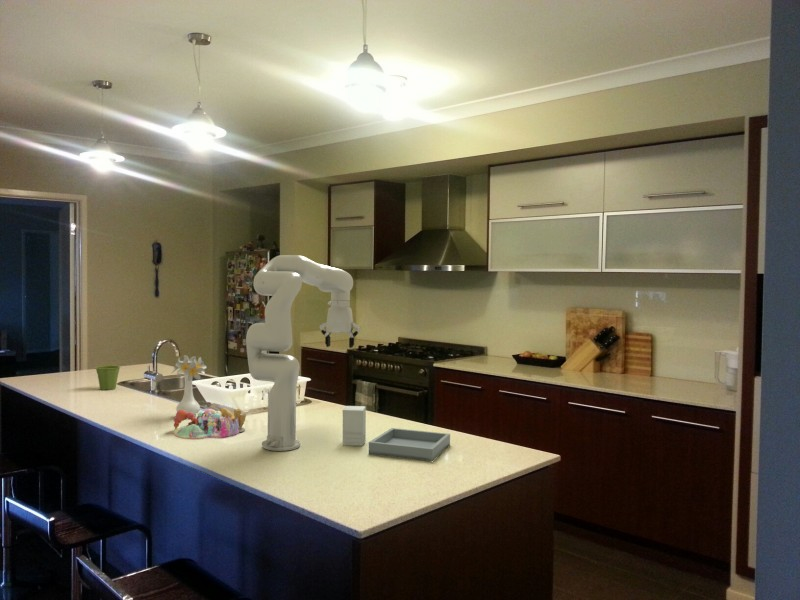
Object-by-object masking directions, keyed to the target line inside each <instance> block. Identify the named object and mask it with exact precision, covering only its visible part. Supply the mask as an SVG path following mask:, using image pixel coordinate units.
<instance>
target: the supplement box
mask: <svg viewBox="0 0 800 600" xmlns="http://www.w3.org/2000/svg"><path fill="white" fill-rule="evenodd" d="M366 408H367V407H366V406H363V405H362V406H361V405H360V406H359V405H346V406H344V408H343V409H342V446H352V447H353V446H354V447H363V446H364V444H365V443H366V436H367V435H366V434H367V433H366V419H367V418H366V417H367V416H366V414H367V413H366V411H367V409H366Z"/></svg>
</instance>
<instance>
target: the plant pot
mask: <svg viewBox="0 0 800 600" xmlns="http://www.w3.org/2000/svg"><path fill="white" fill-rule="evenodd" d="M94 368H95V370H96V374H97V379H98V384H99V390H101V391H105V390H109V391H112V390H115V389H116V388H117V382H118V377H119V372H120V369H121V365H103V366H95V367H94Z"/></svg>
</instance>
